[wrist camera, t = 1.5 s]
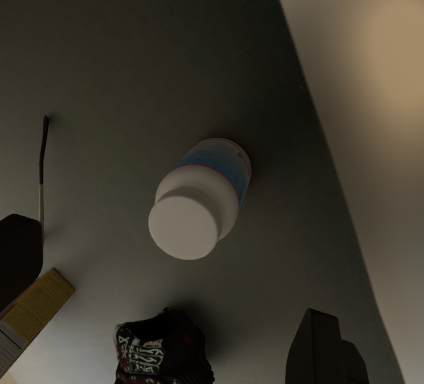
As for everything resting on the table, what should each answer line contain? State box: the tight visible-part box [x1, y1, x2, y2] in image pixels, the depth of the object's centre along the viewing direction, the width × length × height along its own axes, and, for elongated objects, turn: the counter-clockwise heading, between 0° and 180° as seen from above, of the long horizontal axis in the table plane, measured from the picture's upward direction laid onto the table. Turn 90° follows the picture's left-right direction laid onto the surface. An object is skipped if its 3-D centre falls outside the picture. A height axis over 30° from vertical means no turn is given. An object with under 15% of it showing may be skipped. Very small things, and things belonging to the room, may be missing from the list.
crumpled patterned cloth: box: [113, 307, 215, 384], centre depth 36 cm, size 10×15×14 cm
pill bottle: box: [149, 138, 251, 260], centre depth 27 cm, size 6×6×11 cm
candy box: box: [0, 268, 75, 379], centre depth 37 cm, size 9×4×15 cm, turn 131°
